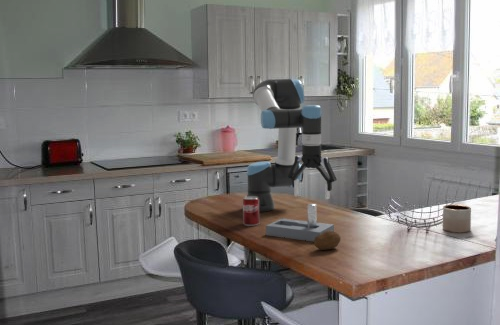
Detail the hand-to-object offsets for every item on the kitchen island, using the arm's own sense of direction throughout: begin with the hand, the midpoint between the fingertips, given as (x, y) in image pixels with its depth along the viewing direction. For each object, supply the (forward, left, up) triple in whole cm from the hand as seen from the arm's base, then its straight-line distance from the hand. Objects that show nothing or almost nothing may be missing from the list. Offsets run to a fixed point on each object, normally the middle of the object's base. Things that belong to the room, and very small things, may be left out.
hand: (311, 197), depth 219 cm
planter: (-36, +49, -16) cm, 63 cm away
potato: (+14, +13, -16) cm, 25 cm away
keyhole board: (0, -5, -16) cm, 17 cm away
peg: (0, 0, -16) cm, 16 cm away
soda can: (-6, -32, -16) cm, 37 cm away
